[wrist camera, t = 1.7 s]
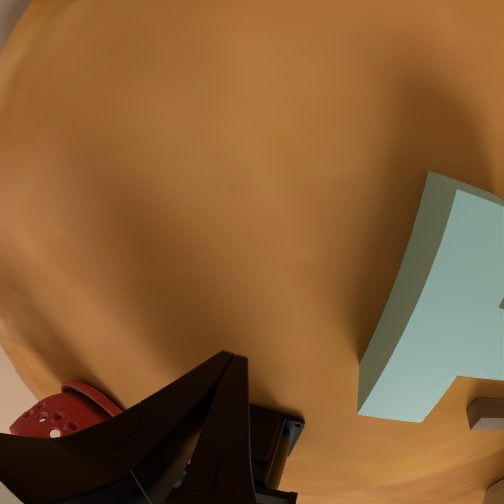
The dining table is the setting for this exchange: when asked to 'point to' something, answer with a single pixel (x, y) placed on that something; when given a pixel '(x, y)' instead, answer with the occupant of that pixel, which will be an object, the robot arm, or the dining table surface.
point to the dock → (486, 414)
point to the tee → (439, 305)
